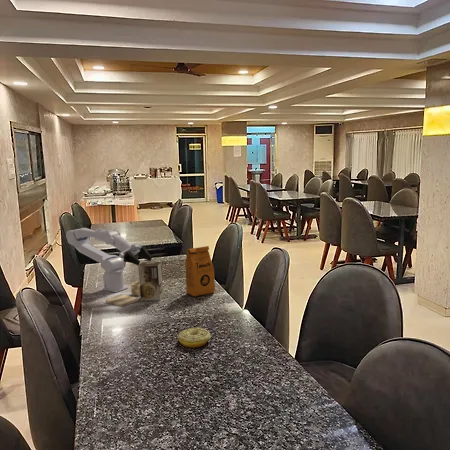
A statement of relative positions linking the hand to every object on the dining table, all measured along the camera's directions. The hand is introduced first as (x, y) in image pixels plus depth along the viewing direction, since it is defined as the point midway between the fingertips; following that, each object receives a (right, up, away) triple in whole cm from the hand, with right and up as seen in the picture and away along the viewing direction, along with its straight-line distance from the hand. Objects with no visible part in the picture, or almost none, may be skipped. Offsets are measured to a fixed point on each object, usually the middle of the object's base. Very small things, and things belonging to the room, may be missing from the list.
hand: (145, 261), depth 185 cm
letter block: (-4, -16, +6) cm, 17 cm away
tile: (-9, -17, -4) cm, 20 cm away
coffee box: (+3, -17, -1) cm, 17 cm away
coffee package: (+25, -15, +4) cm, 30 cm away
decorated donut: (+26, -24, -45) cm, 57 cm away
